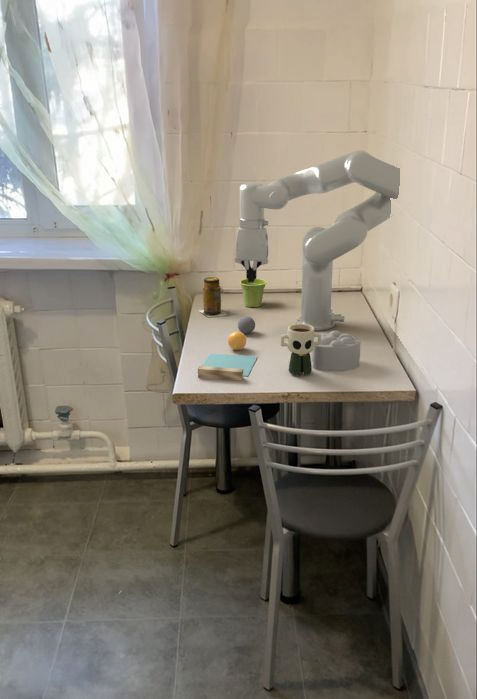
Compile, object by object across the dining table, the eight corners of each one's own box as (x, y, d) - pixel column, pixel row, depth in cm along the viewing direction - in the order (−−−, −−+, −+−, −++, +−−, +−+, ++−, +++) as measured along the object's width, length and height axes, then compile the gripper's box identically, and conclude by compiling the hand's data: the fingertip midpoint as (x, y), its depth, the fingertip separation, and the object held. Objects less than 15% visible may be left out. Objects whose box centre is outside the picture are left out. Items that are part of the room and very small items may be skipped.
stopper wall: (243, 377, 177) (243, 369, 176) (241, 380, 175) (241, 372, 174) (200, 374, 179) (199, 365, 178) (198, 377, 178) (197, 368, 177)
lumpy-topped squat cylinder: (311, 357, 190) (312, 328, 187) (357, 357, 189) (358, 329, 186) (313, 371, 181) (314, 341, 177) (361, 372, 180) (363, 342, 177)
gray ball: (256, 330, 211) (256, 314, 209) (253, 336, 206) (253, 320, 204) (239, 329, 212) (239, 313, 210) (236, 335, 207) (236, 319, 205)
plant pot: (253, 299, 242) (253, 276, 239) (271, 305, 236) (271, 281, 233) (234, 305, 236) (234, 281, 233) (252, 311, 230) (252, 286, 227)
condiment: (217, 308, 234) (216, 275, 229) (227, 314, 226) (227, 281, 222) (198, 311, 231) (197, 277, 226) (208, 318, 223) (207, 283, 219)
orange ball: (248, 346, 198) (248, 329, 196) (244, 353, 193) (244, 335, 191) (230, 345, 199) (229, 328, 197) (226, 352, 194) (225, 334, 192)
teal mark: (257, 357, 190) (257, 356, 190) (247, 376, 178) (247, 375, 178) (210, 353, 193) (210, 353, 193) (197, 372, 180) (197, 372, 180)
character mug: (281, 379, 176) (282, 333, 171) (278, 368, 182) (278, 324, 178) (322, 377, 177) (324, 331, 172) (317, 367, 183) (319, 322, 178)
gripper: (277, 222, 208) (276, 279, 214) (230, 220, 210) (231, 276, 217) (273, 227, 201) (272, 285, 207) (225, 225, 204) (226, 283, 210)
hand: (251, 281), depth 212 cm, fingers closed
